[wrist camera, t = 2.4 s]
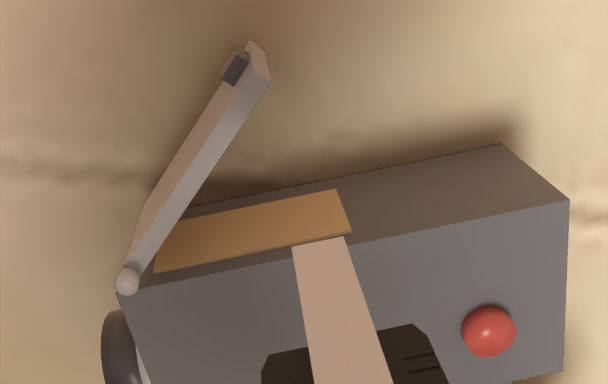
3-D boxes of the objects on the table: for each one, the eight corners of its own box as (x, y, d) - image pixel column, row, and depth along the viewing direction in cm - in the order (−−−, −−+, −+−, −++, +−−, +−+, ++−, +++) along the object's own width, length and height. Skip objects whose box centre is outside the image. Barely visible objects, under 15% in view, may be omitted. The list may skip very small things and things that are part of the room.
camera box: (150, 366, 35) (128, 478, 28) (89, 208, 30) (44, 295, 23) (504, 291, 35) (571, 382, 28) (501, 124, 30) (581, 183, 23)
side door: (158, 211, 30) (141, 274, 24) (133, 198, 29) (110, 260, 24) (263, 49, 27) (271, 81, 21) (238, 32, 26) (239, 60, 21)
